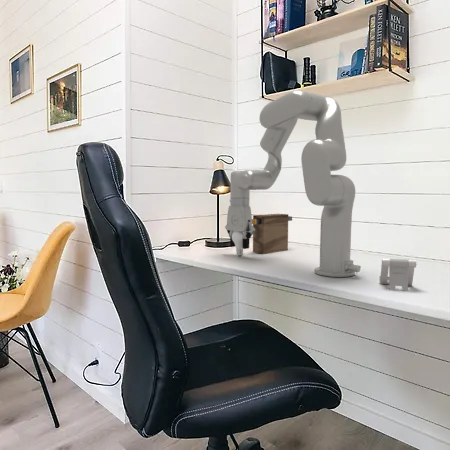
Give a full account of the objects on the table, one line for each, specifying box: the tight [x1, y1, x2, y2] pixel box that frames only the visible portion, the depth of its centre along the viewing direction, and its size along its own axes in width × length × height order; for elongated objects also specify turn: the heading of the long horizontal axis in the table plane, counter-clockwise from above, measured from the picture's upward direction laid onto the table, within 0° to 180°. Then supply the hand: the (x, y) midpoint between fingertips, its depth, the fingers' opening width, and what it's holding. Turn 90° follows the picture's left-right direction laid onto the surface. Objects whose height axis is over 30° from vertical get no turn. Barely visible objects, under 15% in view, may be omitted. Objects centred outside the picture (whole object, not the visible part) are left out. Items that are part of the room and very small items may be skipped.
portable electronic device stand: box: [378, 257, 417, 292], centre depth 120 cm, size 9×8×8 cm
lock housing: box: [252, 213, 289, 255], centre depth 183 cm, size 6×16×16 cm, turn 134°
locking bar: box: [252, 215, 293, 225], centre depth 183 cm, size 3×25×2 cm, turn 134°
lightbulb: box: [232, 231, 247, 257], centre depth 170 cm, size 6×6×11 cm
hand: (239, 247), depth 171 cm, fingers closed on lightbulb, 6 cm apart
